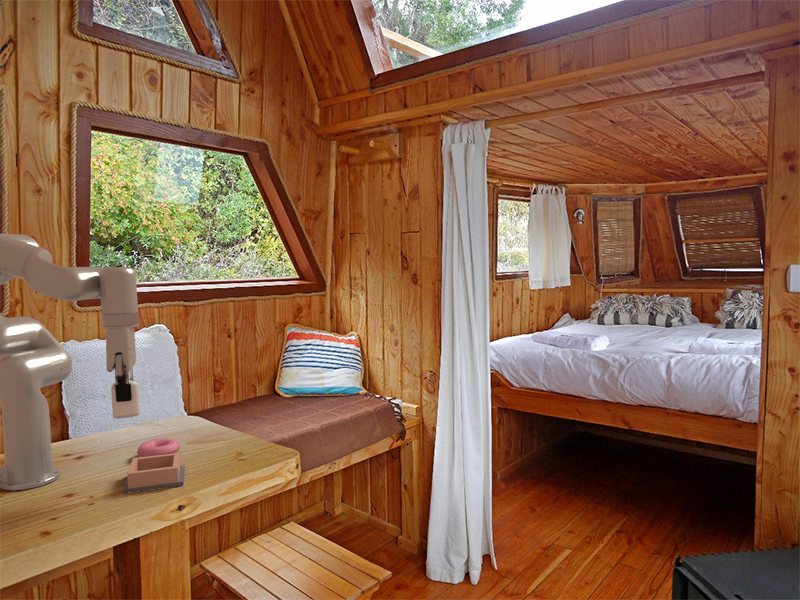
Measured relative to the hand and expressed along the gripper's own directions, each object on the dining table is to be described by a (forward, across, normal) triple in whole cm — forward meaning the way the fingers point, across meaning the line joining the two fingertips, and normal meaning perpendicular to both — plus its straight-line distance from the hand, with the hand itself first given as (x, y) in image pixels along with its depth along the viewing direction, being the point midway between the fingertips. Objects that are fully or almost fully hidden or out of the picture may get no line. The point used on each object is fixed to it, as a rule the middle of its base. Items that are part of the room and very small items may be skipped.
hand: (125, 398), depth 130 cm
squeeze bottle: (+4, 0, 0) cm, 4 cm away
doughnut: (+22, -21, +4) cm, 31 cm away
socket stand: (+22, -3, +5) cm, 22 cm away
